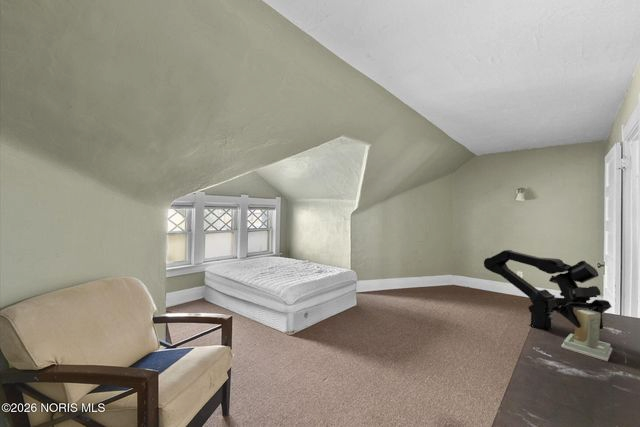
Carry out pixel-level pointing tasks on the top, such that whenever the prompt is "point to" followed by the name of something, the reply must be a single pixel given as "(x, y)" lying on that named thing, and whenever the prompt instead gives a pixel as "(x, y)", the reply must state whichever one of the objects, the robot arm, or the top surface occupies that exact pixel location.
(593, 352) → the dock
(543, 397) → the top surface
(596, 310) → the robot arm
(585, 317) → the skincare box
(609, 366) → the top surface
